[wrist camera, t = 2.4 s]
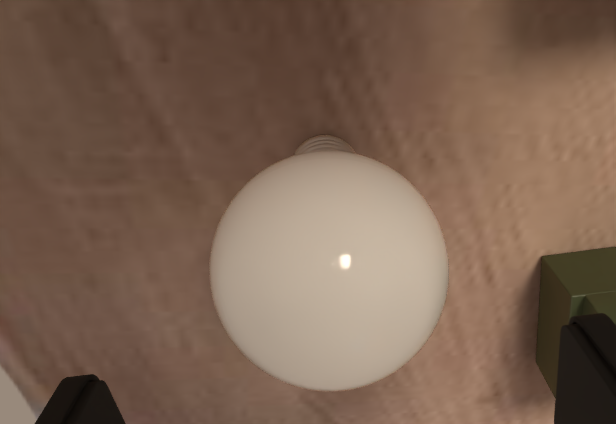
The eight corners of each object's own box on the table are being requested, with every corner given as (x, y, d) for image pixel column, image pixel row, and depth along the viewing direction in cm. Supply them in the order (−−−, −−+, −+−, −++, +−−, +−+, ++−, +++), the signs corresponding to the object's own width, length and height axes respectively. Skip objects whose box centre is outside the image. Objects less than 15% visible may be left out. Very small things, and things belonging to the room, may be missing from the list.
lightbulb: (432, 168, 20) (536, 365, 11) (315, 252, 22) (314, 481, 13) (335, 48, 18) (355, 155, 8) (216, 152, 20) (121, 336, 10)
